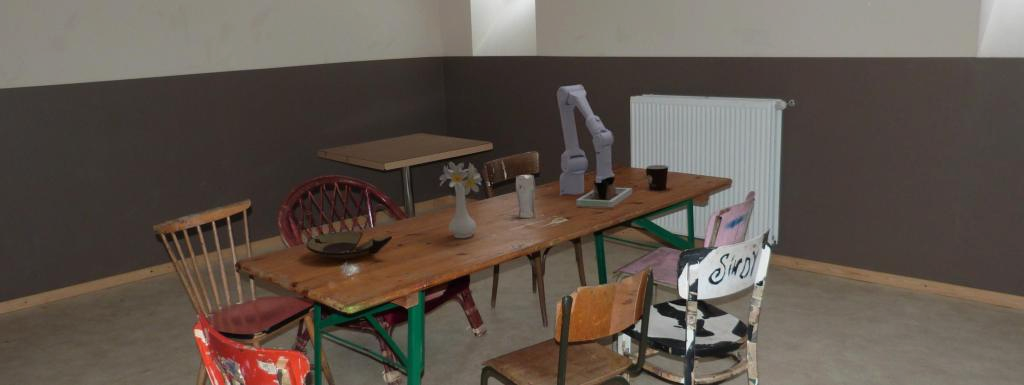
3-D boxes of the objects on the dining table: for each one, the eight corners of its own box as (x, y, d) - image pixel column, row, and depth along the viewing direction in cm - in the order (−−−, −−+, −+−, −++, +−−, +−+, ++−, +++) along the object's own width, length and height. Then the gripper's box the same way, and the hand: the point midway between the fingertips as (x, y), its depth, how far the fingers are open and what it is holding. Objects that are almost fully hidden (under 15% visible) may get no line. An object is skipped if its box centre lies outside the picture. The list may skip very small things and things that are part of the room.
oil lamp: (351, 242, 288) (349, 220, 287) (405, 256, 267) (403, 233, 265) (293, 257, 273) (290, 234, 272) (345, 274, 252) (342, 249, 250)
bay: (576, 207, 321) (576, 199, 320) (598, 194, 342) (598, 186, 342) (612, 209, 314) (612, 201, 314) (632, 195, 336) (632, 188, 335)
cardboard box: (594, 200, 327) (593, 186, 326) (598, 197, 332) (598, 183, 331) (611, 201, 324) (611, 187, 323) (615, 198, 329) (615, 184, 328)
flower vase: (466, 244, 276) (461, 169, 271) (433, 235, 290) (428, 163, 285) (497, 236, 285) (493, 163, 279) (464, 228, 299) (459, 158, 293)
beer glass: (514, 218, 310) (512, 177, 306) (522, 213, 316) (520, 174, 312) (531, 219, 306) (529, 178, 303) (539, 214, 312) (537, 174, 309)
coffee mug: (670, 193, 337) (669, 168, 335) (648, 194, 337) (648, 169, 335) (665, 187, 349) (665, 163, 347) (644, 188, 349) (644, 164, 347)
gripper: (607, 166, 317) (608, 202, 320) (619, 159, 330) (620, 194, 333) (590, 166, 320) (591, 201, 323) (602, 159, 333) (603, 193, 336)
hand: (605, 197), depth 328 cm, fingers closed on cardboard box, 5 cm apart
